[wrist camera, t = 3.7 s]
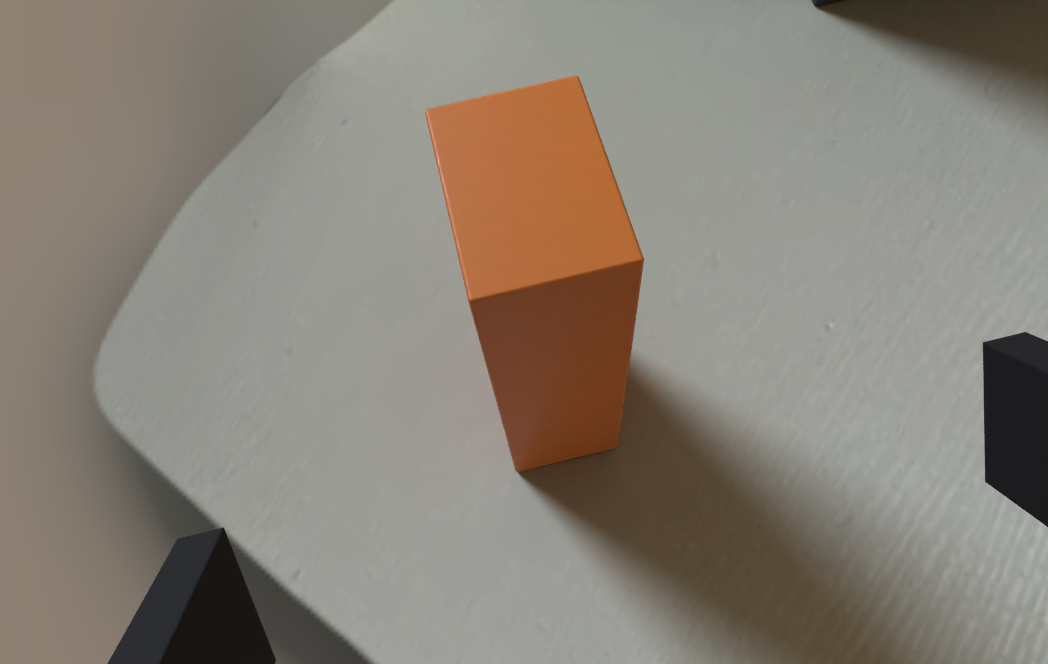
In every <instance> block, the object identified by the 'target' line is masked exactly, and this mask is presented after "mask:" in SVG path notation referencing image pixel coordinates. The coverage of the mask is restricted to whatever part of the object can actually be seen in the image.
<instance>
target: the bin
mask: <svg viewBox="0 0 1048 664" xmlns="http://www.w3.org/2000/svg"><path fill="white" fill-rule="evenodd" d="M812 1H813V3H814V5H815V6H818V5H822V4H827V3H831V2H836V1H840V0H812Z"/></svg>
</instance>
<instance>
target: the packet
mask: <svg viewBox="0 0 1048 664" xmlns="http://www.w3.org/2000/svg"><path fill="white" fill-rule="evenodd" d="M425 114H426V119H427V123H428V127H429V132H430V136H431V140H432V145H433V149H434V153H435V158H436V162H437V166H438V171H439V175H440V180H441V184H442V188H443V193H444V197H445V201H446V206H447V210H448V214H449V219H450V223H451V227H452V232H453V236H454V240H455V245H456V249H457V253H458V258H459V262H460V266H461V271H462V275H463V279H464V284H465V288H466V292H467V297H468V301H469V305H470V308H471V312H472V315H473V319H474V323H475V326H476V330H477V333H478V337H479V341H480V344H481V348H482V351H483V355H484V359H485V362H486V366H487V369H488V373H489V376H490V380H491V384H492V387H493V391H494V394H495V398H496V402H497V405H498V409H499V412H500V416H501V420H502V423H503V427H504V430H505V434H506V437H507V441H508V445H509V448H510V452H511V455H512V459H513V463H514V466H515V470H516V471H517V472H520V471H524V470H528V469H532V468H536V467H541V466H545V465H549V464H553V463H557V462H561V461H565V460H569V459H573V458H577V457H581V456H585V455H589V454H593V453H597V452H601V451H605V450H609V449H613V448H617V447H618V443H619V435H620V428H621V421H622V414H623V407H624V399H625V392H626V385H627V378H628V371H629V363H630V356H631V349H632V342H633V335H634V327H635V320H636V313H637V306H638V299H639V291H640V284H641V277H642V270H643V263H644V258H643V255H642V252H641V250H640V247H639V244H638V241H637V238H636V236H635V233H634V230H633V227H632V224H631V222H630V219H629V216H628V213H627V210H626V208H625V205H624V202H623V199H622V196H621V194H620V191H619V188H618V185H617V182H616V180H615V177H614V174H613V171H612V168H611V166H610V163H609V160H608V157H607V154H606V152H605V149H604V146H603V143H602V140H601V138H600V135H599V132H598V129H597V126H596V124H595V121H594V118H593V115H592V112H591V110H590V107H589V104H588V101H587V98H586V96H585V93H584V90H583V87H582V84H581V82H580V79H579V77H578V76H571V77H567V78H562V79H558V80H554V81H549V82H545V83H540V84H536V85H532V86H527V87H523V88H518V89H514V90H510V91H505V92H501V93H496V94H492V95H488V96H483V97H479V98H474V99H470V100H466V101H461V102H457V103H452V104H448V105H444V106H439V107H435V108H430V109H427V110H426V112H425Z"/></svg>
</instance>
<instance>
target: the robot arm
mask: <svg viewBox="0 0 1048 664" xmlns="http://www.w3.org/2000/svg"><path fill="white" fill-rule="evenodd" d="M983 371H984V434H985V482H987V483H988V484H989V485H991V486H992V487H993V488H995V489H996V490H998V491H999V492H1000V493H1002V494H1003V495H1004V496H1006V497H1007V498H1009V499H1010V500H1011V501H1013V502H1014V503H1015V504H1017V505H1018V506H1020V507H1021V508H1022V509H1024V510H1025V511H1027V512H1028V513H1029V514H1031V515H1032V516H1033V517H1035V518H1036V519H1038V520H1039V521H1040V522H1042V523H1043V524H1044V525H1046V526H1047V527H1048V341H1045V340H1043V339H1041V338H1038V337H1036V336H1034V335H1031V334H1029V333H1026V332H1024V333H1020V334H1016V335H1012V336H1008V337H1003V338H999V339H995V340H991V341H987V342H983ZM275 661H276V659H275V656H274V654H273V652H272V649H271V646H270V644H269V641H268V639H267V636H266V634H265V631H264V629H263V626H262V623H261V621H260V618H259V616H258V613H257V611H256V608H255V606H254V603H253V601H252V598H251V596H250V593H249V591H248V588H247V586H246V583H245V580H244V578H243V576H242V573H241V570H240V568H239V565H238V563H237V560H236V557H235V555H234V552H233V550H232V547H231V545H230V542H229V540H228V537H227V535H226V532H225V530H224V528H220V529H216V530H212V531H208V532H204V533H200V534H196V535H192V536H188V537H183V538H180V539H177V541H176V543H175V544H174V546H173V548H172V550H171V552H170V554H169V555H168V557H167V559H166V561H165V562H164V564H163V566H162V568H161V569H160V571H159V573H158V575H157V577H156V578H155V580H154V582H153V584H152V585H151V587H150V589H149V591H148V593H147V594H146V596H145V598H144V600H143V601H142V603H141V605H140V607H139V609H138V611H137V612H136V614H135V616H134V618H133V619H132V621H131V623H130V625H129V627H128V628H127V630H126V632H125V634H124V635H123V637H122V639H121V641H120V643H119V644H118V646H117V648H116V650H115V652H114V653H113V655H112V657H111V659H110V660H109V662H108V664H275Z"/></svg>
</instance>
